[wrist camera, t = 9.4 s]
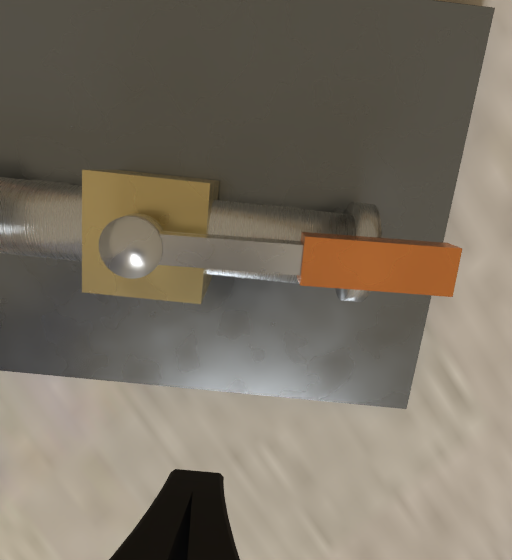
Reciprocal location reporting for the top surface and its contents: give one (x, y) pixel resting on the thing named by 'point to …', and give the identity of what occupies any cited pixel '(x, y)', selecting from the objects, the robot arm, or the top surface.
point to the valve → (225, 182)
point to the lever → (286, 257)
